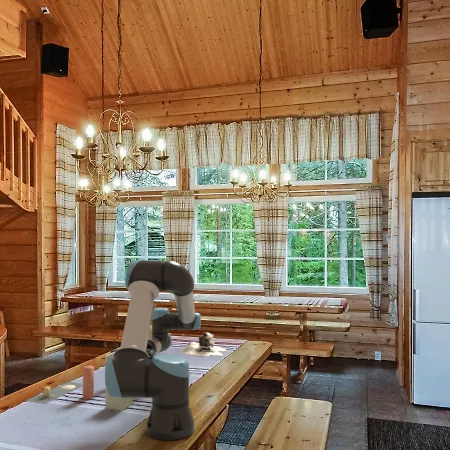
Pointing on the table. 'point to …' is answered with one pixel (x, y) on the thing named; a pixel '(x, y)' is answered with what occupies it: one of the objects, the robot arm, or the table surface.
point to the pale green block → (117, 402)
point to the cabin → (203, 346)
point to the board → (55, 392)
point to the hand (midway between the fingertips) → (120, 361)
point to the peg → (88, 382)
